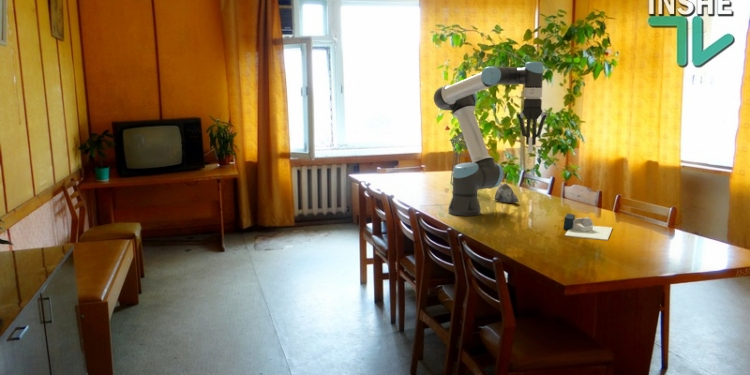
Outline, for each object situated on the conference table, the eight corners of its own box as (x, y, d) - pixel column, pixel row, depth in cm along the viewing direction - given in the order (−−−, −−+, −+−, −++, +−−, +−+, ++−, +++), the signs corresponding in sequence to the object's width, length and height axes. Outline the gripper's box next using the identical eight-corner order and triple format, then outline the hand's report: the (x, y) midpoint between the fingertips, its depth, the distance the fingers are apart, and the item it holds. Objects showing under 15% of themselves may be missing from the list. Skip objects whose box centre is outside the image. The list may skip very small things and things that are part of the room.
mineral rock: (519, 205, 294) (520, 185, 292) (498, 205, 294) (498, 185, 292) (513, 200, 307) (514, 181, 305) (493, 200, 307) (494, 181, 305)
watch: (567, 223, 247) (594, 229, 242) (562, 231, 241) (589, 237, 235) (568, 211, 245) (595, 217, 239) (563, 219, 238) (591, 225, 233)
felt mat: (564, 235, 231) (564, 234, 231) (572, 224, 251) (572, 223, 250) (607, 240, 224) (607, 239, 224) (612, 228, 243) (612, 227, 243)
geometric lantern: (446, 190, 337) (449, 130, 332) (473, 190, 339) (475, 130, 334) (453, 195, 322) (456, 131, 317) (480, 195, 324) (484, 132, 318)
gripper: (515, 98, 251) (513, 152, 255) (546, 98, 245) (544, 154, 249) (519, 98, 257) (517, 151, 261) (549, 98, 252) (547, 152, 255)
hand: (530, 152), depth 255 cm, fingers closed
